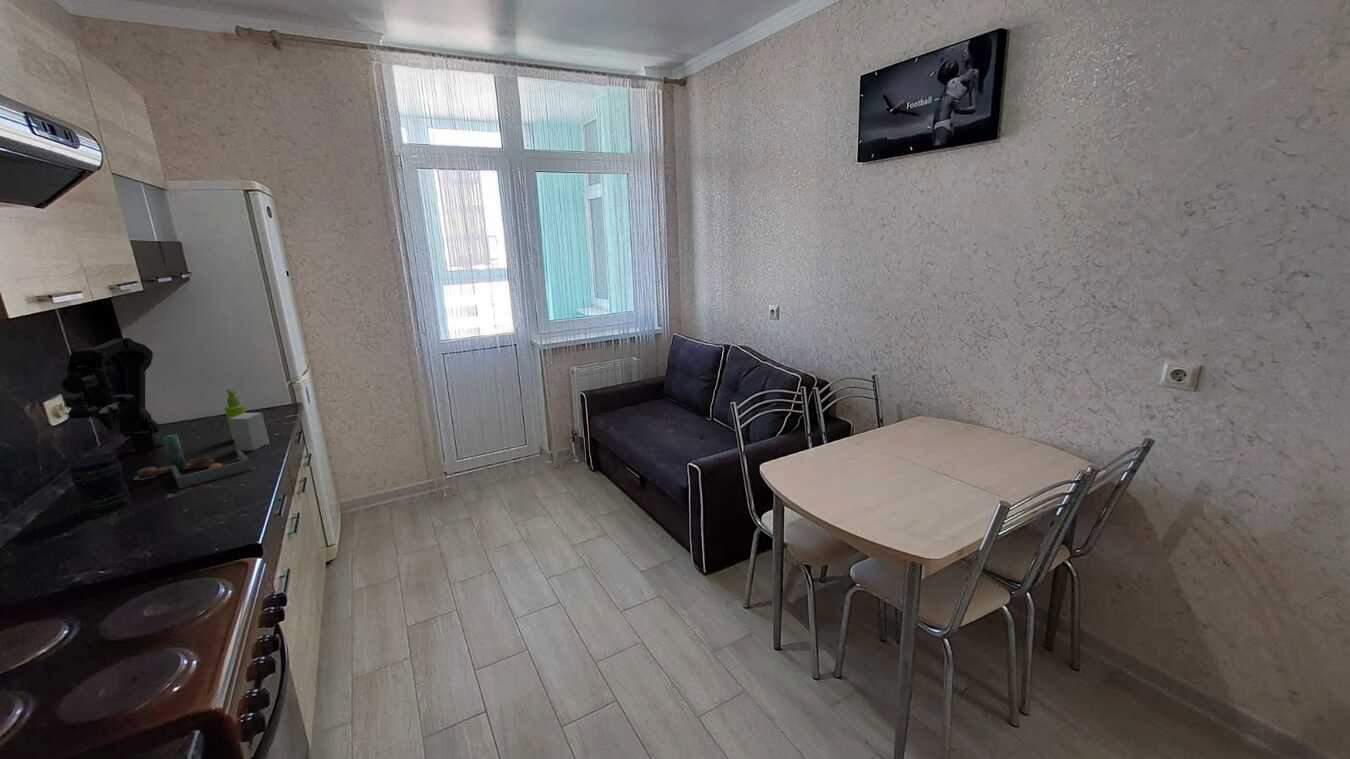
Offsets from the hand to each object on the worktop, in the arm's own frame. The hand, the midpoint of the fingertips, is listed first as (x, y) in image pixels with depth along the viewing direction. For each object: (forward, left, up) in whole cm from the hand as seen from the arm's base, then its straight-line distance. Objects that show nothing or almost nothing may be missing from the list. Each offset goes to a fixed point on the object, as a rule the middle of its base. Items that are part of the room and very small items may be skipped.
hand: (111, 429), depth 184 cm
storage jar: (+35, +23, -13) cm, 44 cm away
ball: (+16, +40, -11) cm, 45 cm away
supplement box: (-9, +37, -13) cm, 40 cm away
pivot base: (+13, +17, -13) cm, 25 cm away
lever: (+10, +24, -13) cm, 29 cm away
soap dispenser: (-20, +27, -13) cm, 36 cm away
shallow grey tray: (+13, +37, -13) cm, 42 cm away
